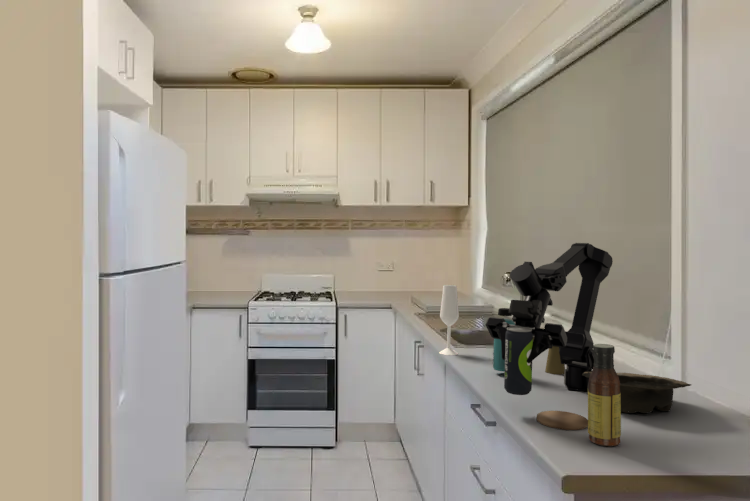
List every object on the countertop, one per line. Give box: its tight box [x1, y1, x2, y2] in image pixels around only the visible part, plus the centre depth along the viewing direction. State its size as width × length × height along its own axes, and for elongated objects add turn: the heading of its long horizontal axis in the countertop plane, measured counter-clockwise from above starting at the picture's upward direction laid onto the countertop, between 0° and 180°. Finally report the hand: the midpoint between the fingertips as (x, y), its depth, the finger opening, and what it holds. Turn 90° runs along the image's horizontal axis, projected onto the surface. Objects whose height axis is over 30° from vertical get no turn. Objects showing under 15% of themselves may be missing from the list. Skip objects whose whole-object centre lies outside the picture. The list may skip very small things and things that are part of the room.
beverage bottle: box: [492, 307, 515, 373], centre depth 172 cm, size 6×7×20 cm
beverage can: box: [503, 326, 534, 396], centre depth 133 cm, size 6×6×15 cm
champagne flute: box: [438, 284, 460, 356], centre depth 202 cm, size 7×7×24 cm
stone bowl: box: [582, 371, 692, 414], centre depth 143 cm, size 25×25×9 cm
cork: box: [545, 346, 566, 375], centre depth 176 cm, size 6×6×11 cm
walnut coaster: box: [536, 410, 588, 431], centre depth 128 cm, size 11×11×1 cm
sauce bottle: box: [587, 343, 622, 447], centre depth 116 cm, size 6×6×20 cm
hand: (515, 360), depth 132 cm, fingers closed on beverage can, 6 cm apart
